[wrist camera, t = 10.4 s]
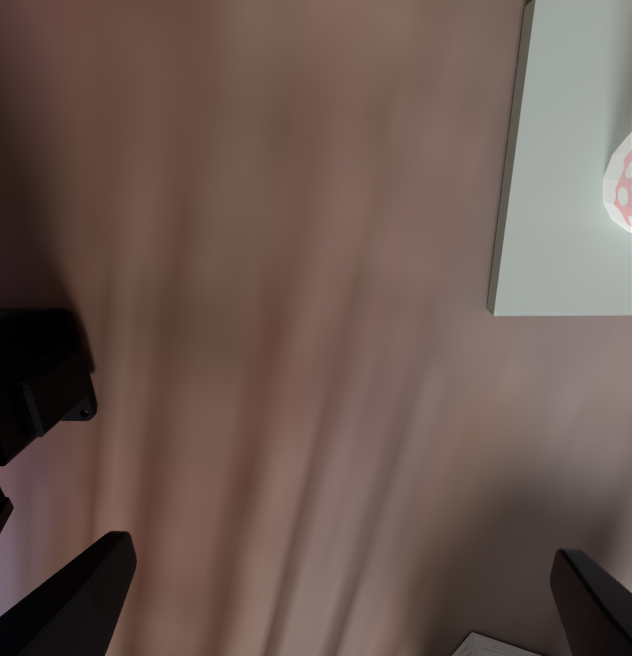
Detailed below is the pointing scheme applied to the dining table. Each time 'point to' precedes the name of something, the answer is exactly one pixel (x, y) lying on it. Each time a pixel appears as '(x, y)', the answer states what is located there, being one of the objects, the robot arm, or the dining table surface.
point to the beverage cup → (619, 185)
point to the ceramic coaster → (565, 165)
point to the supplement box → (488, 647)
